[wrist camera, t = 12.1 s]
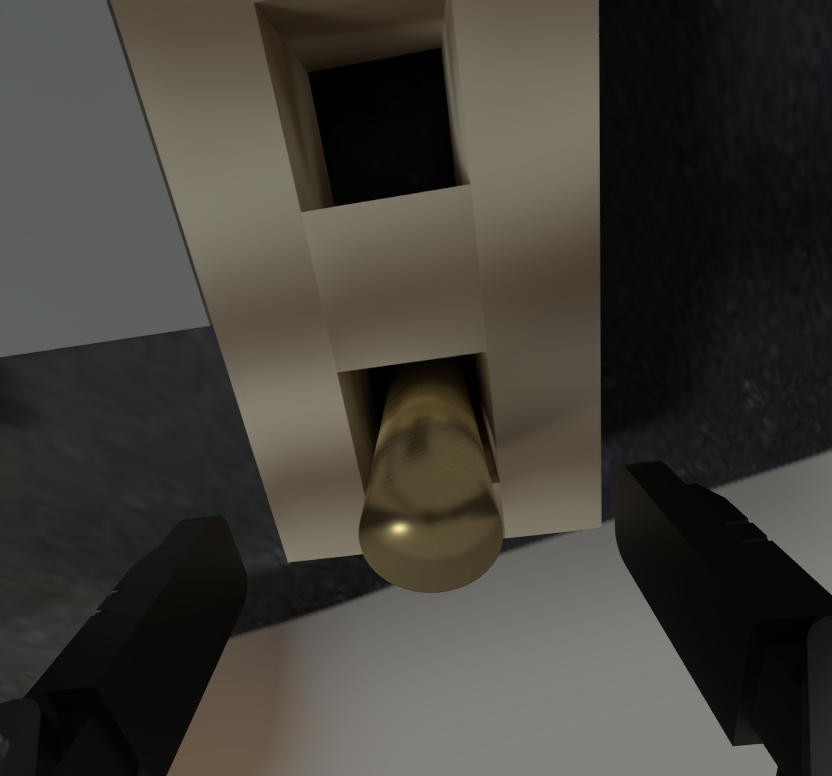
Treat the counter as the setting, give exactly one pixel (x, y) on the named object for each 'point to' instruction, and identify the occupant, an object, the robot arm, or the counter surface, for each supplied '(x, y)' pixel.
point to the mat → (82, 189)
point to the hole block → (390, 241)
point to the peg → (429, 484)
